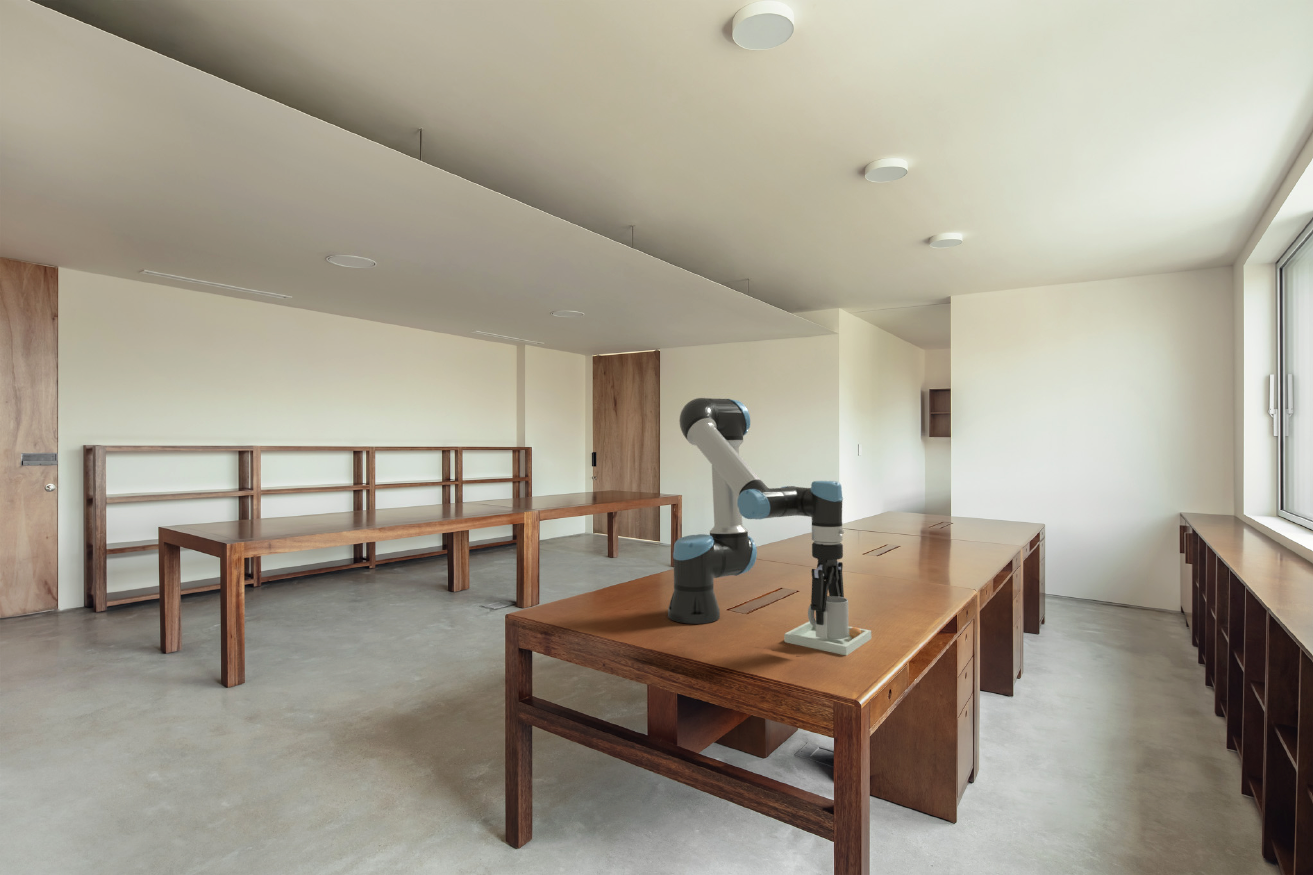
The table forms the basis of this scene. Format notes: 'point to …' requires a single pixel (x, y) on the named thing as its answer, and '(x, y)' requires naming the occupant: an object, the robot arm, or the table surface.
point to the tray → (825, 640)
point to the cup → (834, 617)
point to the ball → (854, 632)
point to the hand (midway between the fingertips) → (828, 633)
